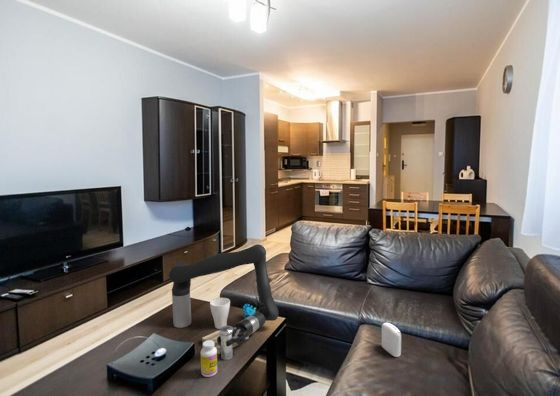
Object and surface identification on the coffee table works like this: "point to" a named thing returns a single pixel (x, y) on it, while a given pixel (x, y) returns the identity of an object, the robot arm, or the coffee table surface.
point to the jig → (215, 340)
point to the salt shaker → (225, 336)
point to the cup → (220, 311)
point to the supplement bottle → (208, 359)
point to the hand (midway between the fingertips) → (222, 342)
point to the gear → (248, 310)
